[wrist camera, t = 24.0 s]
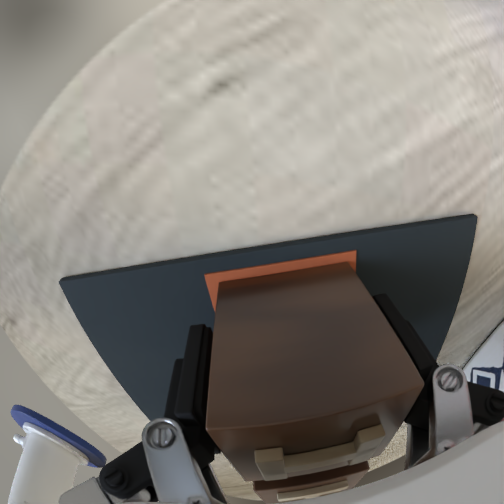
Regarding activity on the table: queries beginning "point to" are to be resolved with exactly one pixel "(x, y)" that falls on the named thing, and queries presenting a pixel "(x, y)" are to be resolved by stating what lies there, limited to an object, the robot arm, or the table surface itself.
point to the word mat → (259, 264)
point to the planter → (488, 362)
